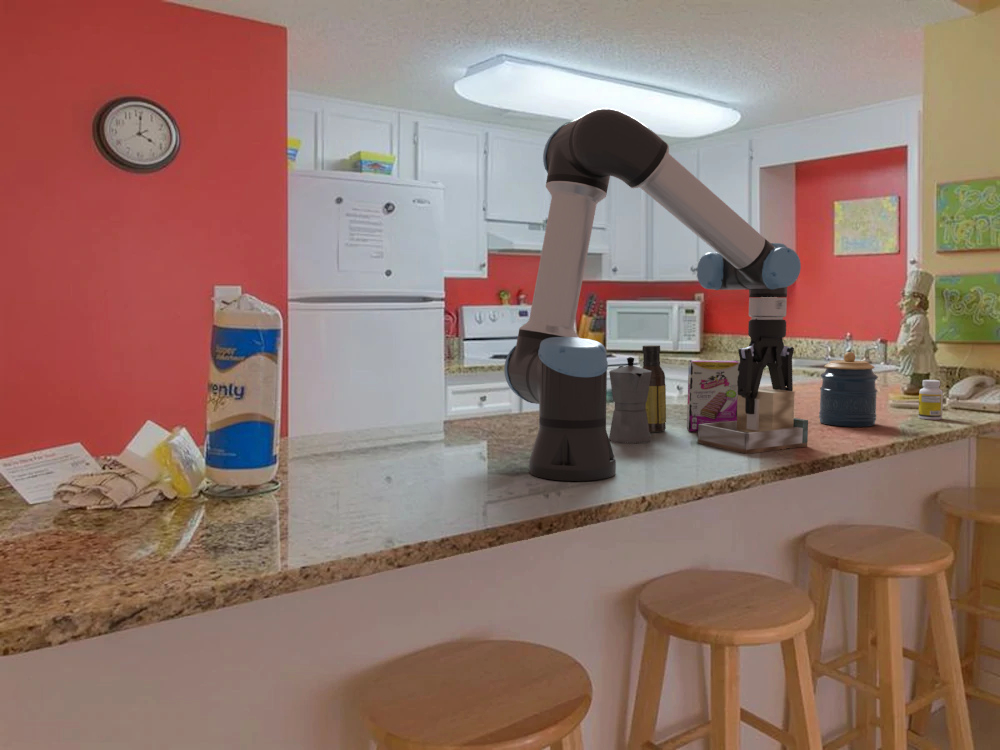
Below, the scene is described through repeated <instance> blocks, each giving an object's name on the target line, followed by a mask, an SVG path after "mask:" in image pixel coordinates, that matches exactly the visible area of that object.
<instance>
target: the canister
mask: <svg viewBox="0 0 1000 750" xmlns="http://www.w3.org/2000/svg"><path fill="white" fill-rule="evenodd" d="M823 367H824V368H826V369H825V371H824V372H823V373H820V375H819V376H820V378H821V379H822V382H821V383H822V384H821V387H820V389H819V390H820V397H819V400H820V401H819V412H818V414H819V415H818V417H819V422H820V423H821V424H824V425H827V426H836V427H845V428H866V427H873V426H875V425H876V421H877V395H878V394H877V393H878V389H877V388H876V381H877V380H878V379H879V376H878V375H877V374H876V373H874V371H873V369H875V366H874V365H872V364H871V363H870V362H869V361H864V360H856V354H855V353H854V352H852V351H848V352H847V351H846V352H845V353H844V355H843V360H841V359H840V360H836V359H835V360H834V359H833V360H830V361H829V362H827V363H826V364H825V365H824V366H823Z"/></svg>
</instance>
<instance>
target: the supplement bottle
mask: <svg viewBox="0 0 1000 750" xmlns="http://www.w3.org/2000/svg"><path fill="white" fill-rule="evenodd" d="M940 386H941V380H937V379H923V380H922V388H920V389H919V392H918V418H919V419H922V420H929V421H930V420H933V421H937V420H942V418H943V409H944V408H943V402H944V391H943V390H942V389H941V388H940Z"/></svg>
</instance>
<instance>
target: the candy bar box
mask: <svg viewBox="0 0 1000 750" xmlns="http://www.w3.org/2000/svg"><path fill="white" fill-rule="evenodd" d="M739 366H740V361H738V360H724V359H722V360H721V359H720V360H719V359H718V360H716V359H714V360H713V359H711V360H710V359H689V360H688V376H687V405H686V407H687V409H686V429H687V430H688V432H694V433H695V432H697V433H698V424H707V423H718V422H728V421H737V396H738V380H739Z"/></svg>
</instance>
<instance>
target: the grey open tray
mask: <svg viewBox="0 0 1000 750" xmlns="http://www.w3.org/2000/svg"><path fill="white" fill-rule="evenodd" d="M808 434H809V419H803V418H798V417H797V418H796V417H794V424H793V428H783V429H778V430H772V431H762V432H752V433H748V432H743V431H738V430H737V421H728V422H718V423H707V424H698V432H697V444H702V445H705V446H711V447H715V448H718V449H723V450H728V451H731V452H733V451H734V452H736V453H741V454H745V455H747V454H754V453H755V454H756V453H762V452H772V451H779V450H780V449H782V450H787V449H786V448H790V449H796V448H795V447H799V448H805V447H808V443H809V442H808V441H809V440H808V436H809V435H808ZM780 451H781V450H780Z"/></svg>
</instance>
